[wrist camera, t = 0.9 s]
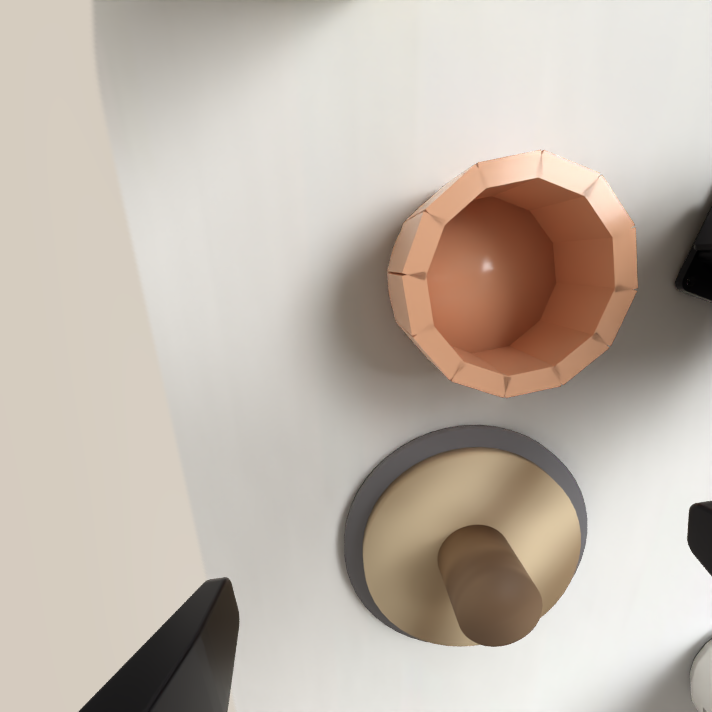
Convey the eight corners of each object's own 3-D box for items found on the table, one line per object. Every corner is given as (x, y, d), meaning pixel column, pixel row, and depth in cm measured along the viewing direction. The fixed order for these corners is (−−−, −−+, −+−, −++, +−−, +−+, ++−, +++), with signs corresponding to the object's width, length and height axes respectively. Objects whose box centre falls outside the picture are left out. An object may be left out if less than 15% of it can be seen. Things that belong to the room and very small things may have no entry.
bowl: (593, 219, 20) (677, 205, 15) (520, 385, 22) (575, 420, 17) (424, 153, 19) (458, 114, 14) (362, 334, 20) (372, 356, 16)
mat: (621, 463, 23) (629, 469, 22) (523, 655, 26) (527, 664, 25) (392, 393, 21) (394, 397, 20) (313, 607, 24) (312, 616, 23)
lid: (605, 480, 22) (672, 532, 18) (519, 648, 25) (560, 731, 20) (405, 420, 21) (425, 462, 16) (334, 606, 23) (335, 685, 19)
